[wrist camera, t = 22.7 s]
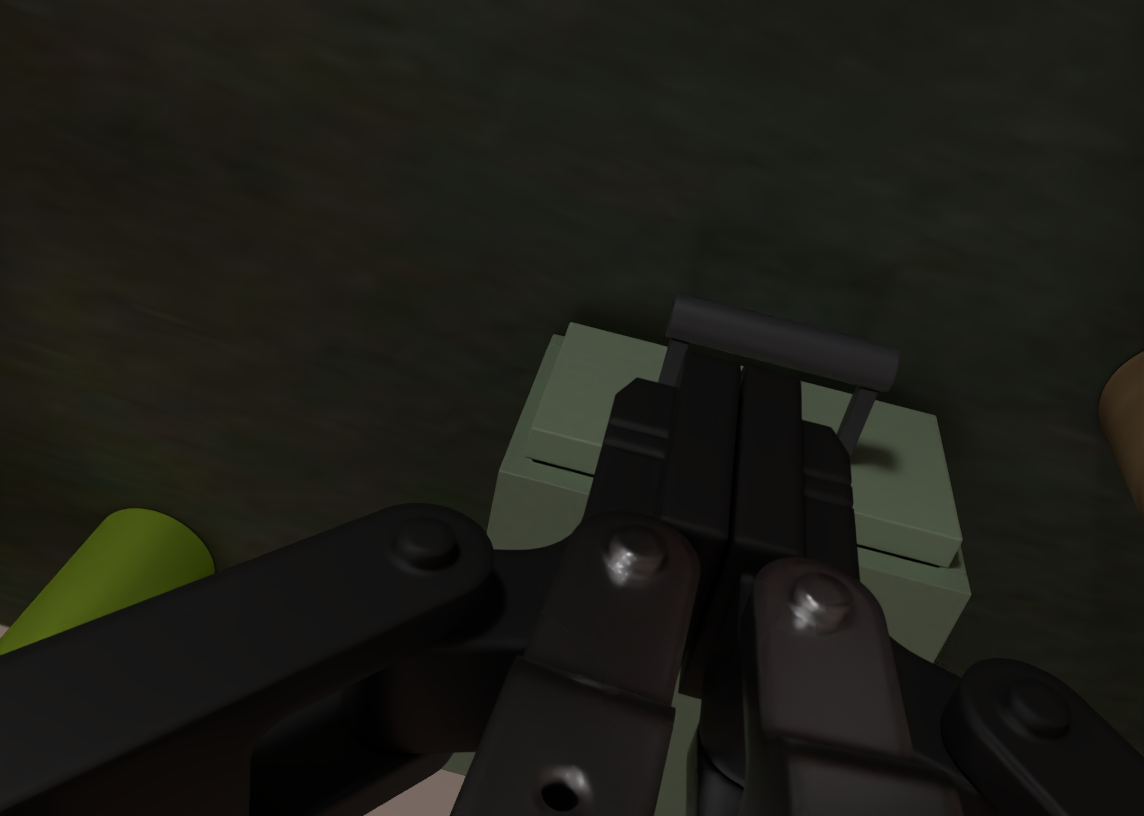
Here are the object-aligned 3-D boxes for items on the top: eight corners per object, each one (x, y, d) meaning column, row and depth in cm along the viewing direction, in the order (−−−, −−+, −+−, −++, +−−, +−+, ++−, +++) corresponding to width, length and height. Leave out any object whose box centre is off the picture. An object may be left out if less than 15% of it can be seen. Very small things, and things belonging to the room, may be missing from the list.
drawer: (593, 213, 36) (555, 306, 30) (985, 311, 36) (1024, 426, 30) (511, 588, 46) (470, 714, 40) (816, 670, 46) (820, 809, 40)
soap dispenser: (254, 567, 49) (-19, 989, 33) (164, 619, 52) (-127, 1030, 36) (162, 479, 47) (-178, 880, 31) (74, 539, 50) (-278, 933, 34)
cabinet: (553, 332, 40) (498, 470, 32) (937, 431, 39) (971, 595, 32) (495, 608, 48) (440, 769, 41) (812, 693, 48) (816, 873, 40)
